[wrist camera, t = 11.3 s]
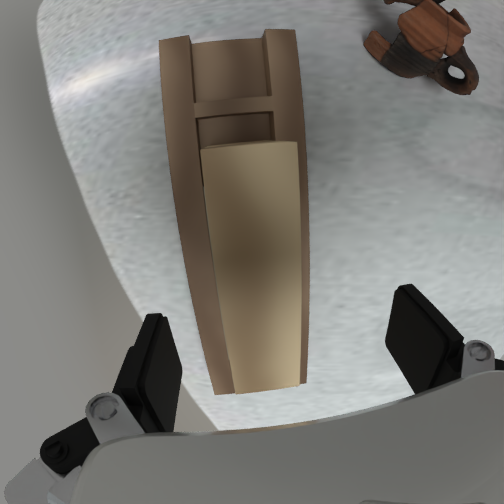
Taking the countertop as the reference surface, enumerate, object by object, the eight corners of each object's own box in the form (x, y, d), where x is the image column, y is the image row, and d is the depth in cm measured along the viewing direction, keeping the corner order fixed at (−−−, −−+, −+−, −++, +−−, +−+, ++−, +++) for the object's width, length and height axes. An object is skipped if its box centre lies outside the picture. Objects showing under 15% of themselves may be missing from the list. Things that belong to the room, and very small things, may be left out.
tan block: (266, 140, 20) (297, 141, 12) (276, 309, 25) (299, 385, 17) (207, 145, 20) (196, 150, 11) (228, 315, 25) (233, 394, 17)
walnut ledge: (284, 43, 18) (294, 29, 15) (298, 360, 30) (306, 383, 27) (167, 53, 18) (158, 40, 15) (214, 370, 29) (214, 395, 26)
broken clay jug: (330, 26, 18) (377, -38, 10) (373, 13, 21) (413, -33, 13) (431, 128, 19) (501, 85, 11) (452, 93, 22) (503, 59, 14)
